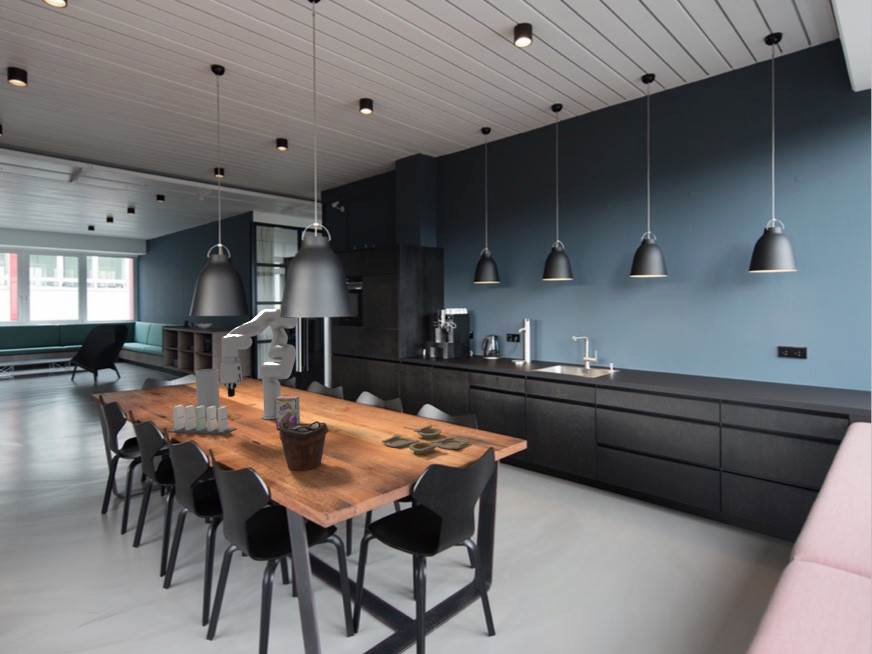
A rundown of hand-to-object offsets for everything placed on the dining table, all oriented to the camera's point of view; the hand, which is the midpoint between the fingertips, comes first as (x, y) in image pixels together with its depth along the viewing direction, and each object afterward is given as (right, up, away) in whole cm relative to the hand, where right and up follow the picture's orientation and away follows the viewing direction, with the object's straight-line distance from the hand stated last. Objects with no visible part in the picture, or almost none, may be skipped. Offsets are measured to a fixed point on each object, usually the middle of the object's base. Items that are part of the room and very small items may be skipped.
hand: (231, 396), depth 250 cm
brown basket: (+51, -21, -52) cm, 76 cm away
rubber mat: (-17, -18, +6) cm, 26 cm away
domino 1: (-31, -18, +9) cm, 37 cm away
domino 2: (-24, -18, +7) cm, 31 cm away
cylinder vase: (-35, -16, +50) cm, 63 cm away
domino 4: (-12, -18, +4) cm, 22 cm away
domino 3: (-18, -18, +6) cm, 26 cm away
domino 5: (-5, -18, +3) cm, 19 cm away
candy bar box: (+27, -18, +6) cm, 33 cm away
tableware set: (+99, -18, -27) cm, 104 cm away
